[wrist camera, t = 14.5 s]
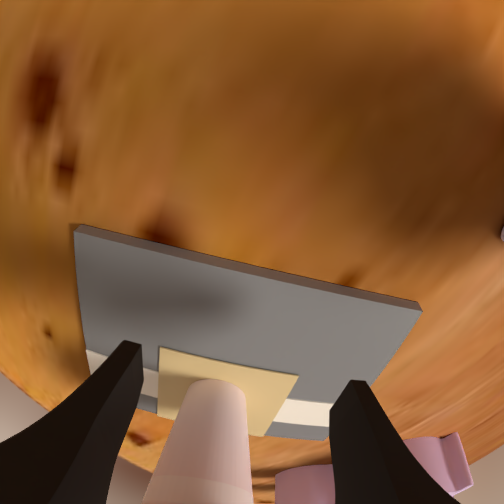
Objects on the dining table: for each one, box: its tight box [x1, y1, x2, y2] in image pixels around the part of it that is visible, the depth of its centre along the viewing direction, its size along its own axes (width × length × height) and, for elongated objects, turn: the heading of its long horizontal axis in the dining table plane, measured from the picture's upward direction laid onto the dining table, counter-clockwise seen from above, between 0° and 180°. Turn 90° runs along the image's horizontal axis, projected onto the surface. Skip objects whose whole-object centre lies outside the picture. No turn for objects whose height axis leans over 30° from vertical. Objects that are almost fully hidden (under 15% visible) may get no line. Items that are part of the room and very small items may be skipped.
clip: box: [275, 432, 474, 504], centre depth 24 cm, size 20×12×7 cm, turn 103°
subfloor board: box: [74, 224, 423, 441], centre depth 18 cm, size 18×14×1 cm
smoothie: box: [141, 379, 253, 504], centre depth 13 cm, size 6×6×14 cm
